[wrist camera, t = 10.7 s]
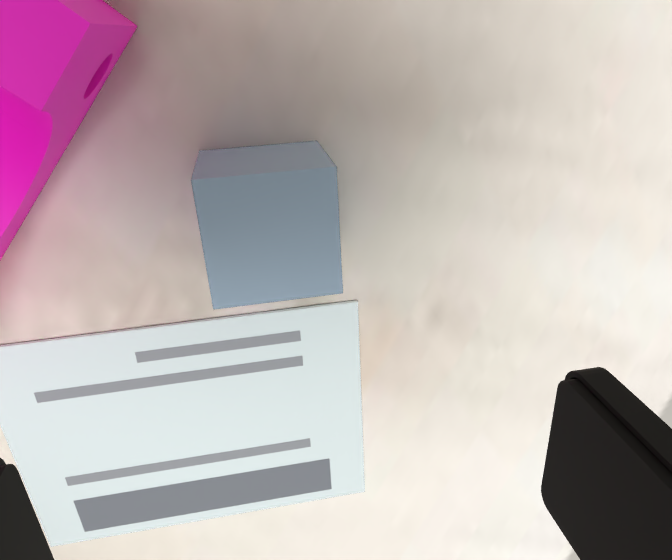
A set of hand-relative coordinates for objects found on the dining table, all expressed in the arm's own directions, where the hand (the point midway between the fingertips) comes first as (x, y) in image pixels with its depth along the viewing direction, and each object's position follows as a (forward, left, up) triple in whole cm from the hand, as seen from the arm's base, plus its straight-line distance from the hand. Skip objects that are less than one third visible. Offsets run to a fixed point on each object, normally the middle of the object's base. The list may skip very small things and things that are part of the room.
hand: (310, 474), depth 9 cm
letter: (+12, -5, -16) cm, 21 cm away
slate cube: (0, 0, -16) cm, 16 cm away
